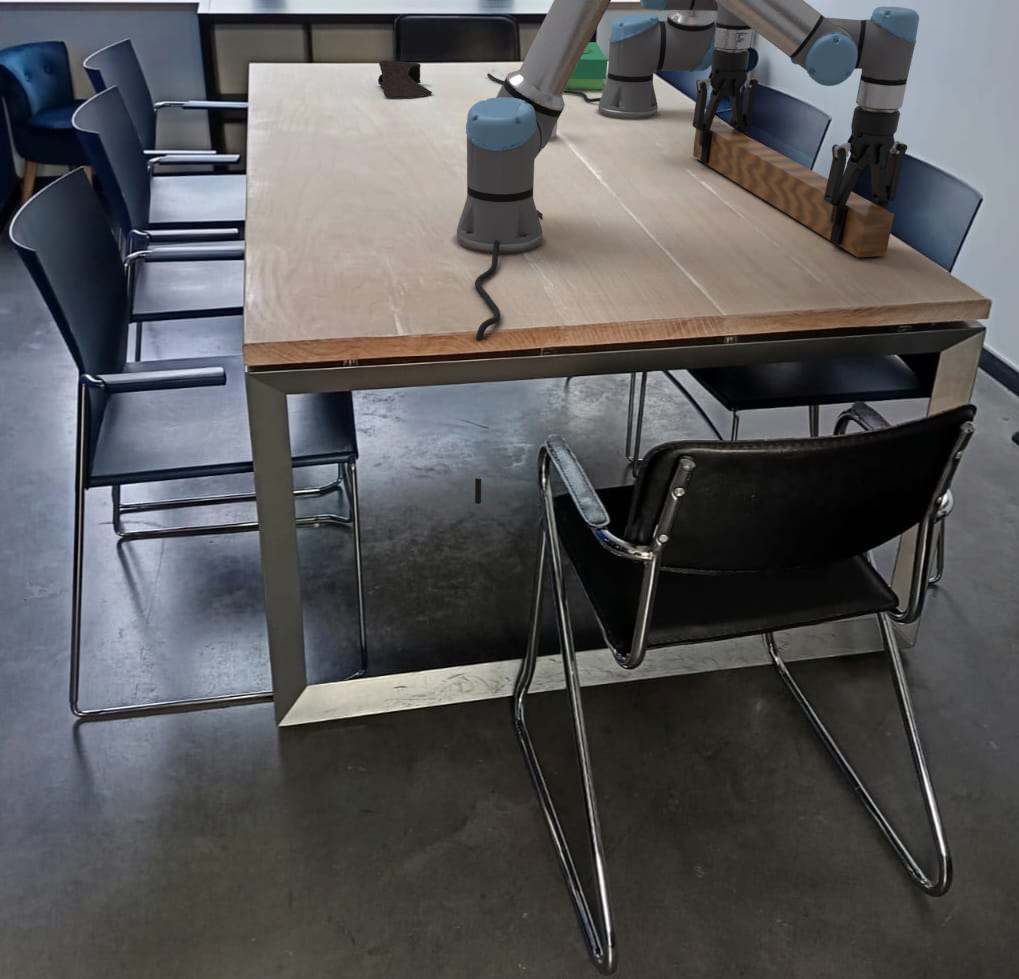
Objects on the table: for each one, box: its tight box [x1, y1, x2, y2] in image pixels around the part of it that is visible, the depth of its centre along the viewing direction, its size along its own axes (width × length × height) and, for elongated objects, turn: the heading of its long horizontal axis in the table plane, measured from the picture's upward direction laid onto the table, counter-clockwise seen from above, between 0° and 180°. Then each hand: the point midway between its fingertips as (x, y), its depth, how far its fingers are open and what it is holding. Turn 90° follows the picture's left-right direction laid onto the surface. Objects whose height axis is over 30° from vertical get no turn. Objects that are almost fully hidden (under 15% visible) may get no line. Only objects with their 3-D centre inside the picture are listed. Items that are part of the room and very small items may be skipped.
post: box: [692, 120, 895, 258], centre depth 217 cm, size 68×6×7 cm, turn 17°
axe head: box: [377, 59, 433, 99], centre depth 299 cm, size 18×8×15 cm
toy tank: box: [564, 41, 608, 90], centre depth 315 cm, size 18×12×35 cm
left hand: (851, 240), depth 196 cm, fingers closed on post, 6 cm apart
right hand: (717, 160), depth 241 cm, fingers closed on post, 6 cm apart
